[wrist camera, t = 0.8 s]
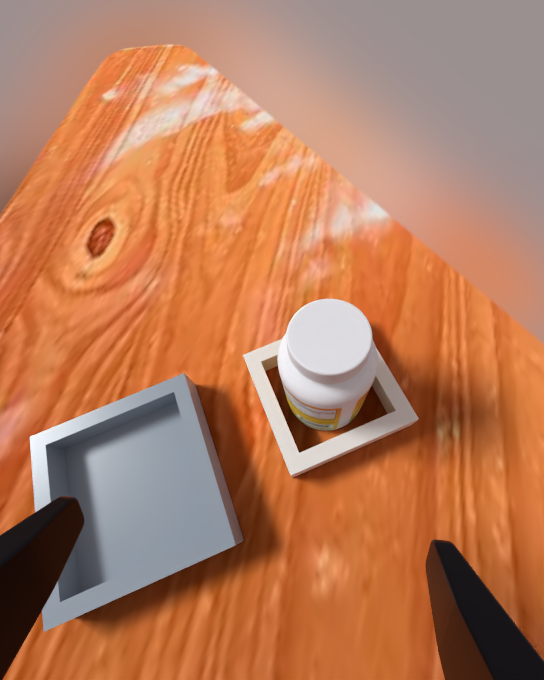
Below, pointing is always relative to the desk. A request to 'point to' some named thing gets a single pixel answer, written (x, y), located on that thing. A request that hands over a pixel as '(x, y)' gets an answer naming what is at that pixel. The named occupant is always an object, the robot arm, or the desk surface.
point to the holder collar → (336, 447)
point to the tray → (134, 494)
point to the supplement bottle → (327, 363)
